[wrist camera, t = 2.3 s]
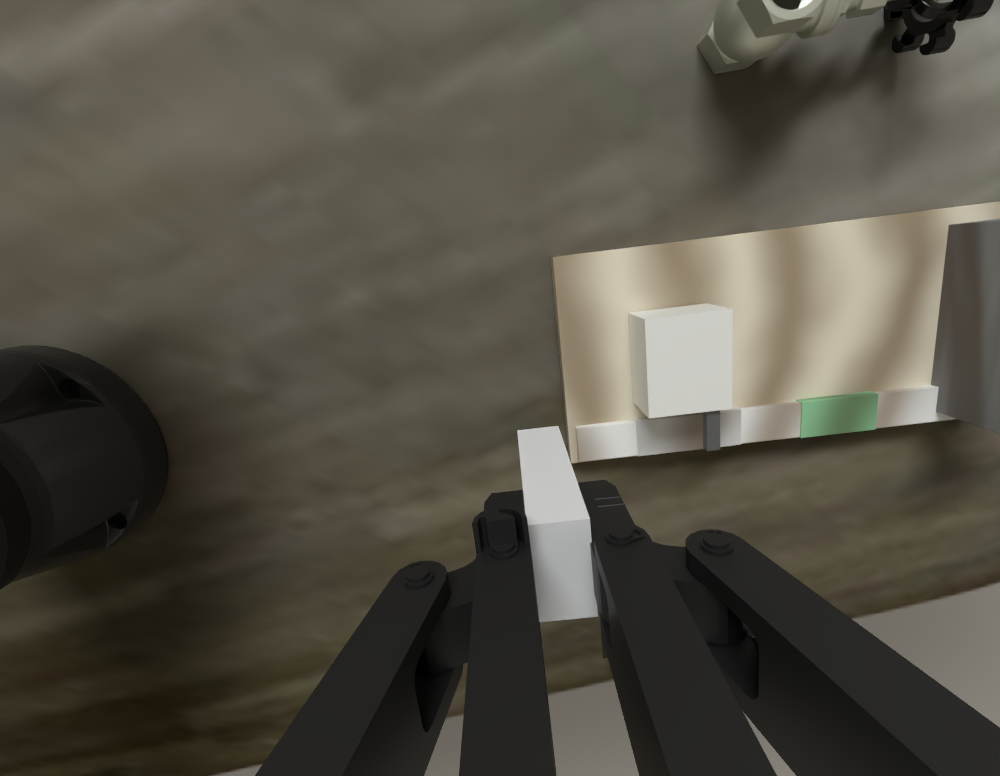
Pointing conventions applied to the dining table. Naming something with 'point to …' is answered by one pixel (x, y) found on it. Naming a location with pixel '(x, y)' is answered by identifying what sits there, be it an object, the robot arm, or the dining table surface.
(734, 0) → the valve
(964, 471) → the dining table surface
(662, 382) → the white rectangular block
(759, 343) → the board
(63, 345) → the dining table surface
